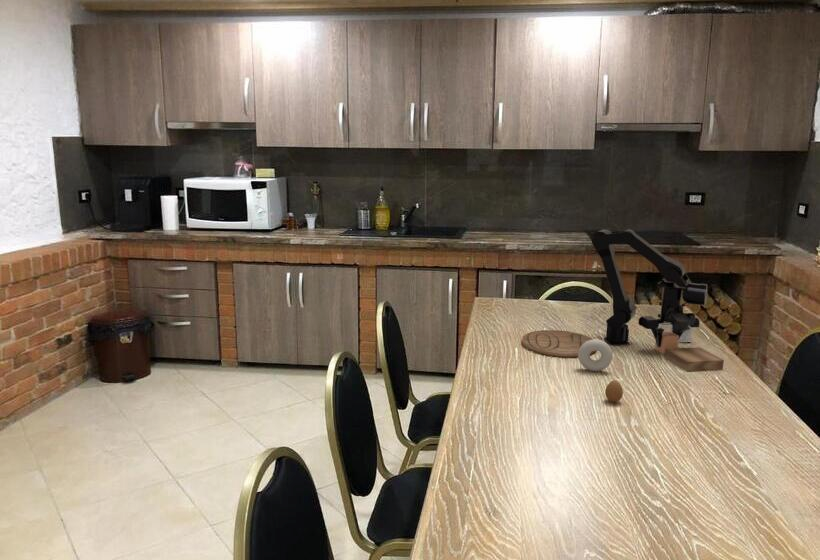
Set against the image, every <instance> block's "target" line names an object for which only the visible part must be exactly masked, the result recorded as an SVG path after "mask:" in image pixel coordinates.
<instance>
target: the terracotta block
mask: <svg viewBox="0 0 820 560" xmlns="http://www.w3.org/2000/svg"><path fill="white" fill-rule="evenodd" d="M678 341H679V336H678V335H677V334H675V333H673V332H671V331H670V330H667V331H665V330H664V331H663V332H662V339H661V346H660V347H658V346H657V343H656V341H655V343H654V344H655V345H654V350H656V351H657V352H659V353H661V354H662V355H665V351H666V349H674V348H679V342H678Z"/></svg>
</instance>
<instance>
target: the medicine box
mask: <svg viewBox="0 0 820 560" xmlns="http://www.w3.org/2000/svg"><path fill="white" fill-rule="evenodd" d="M689 328H690V329H689V330H686V331H685V332H683V334H682V335H681V337H680V339H679V341H678V343H682V342H686V343H687V342H690V343H691V342H692V333H693V332H692V331H693V327H690V326H689ZM669 331H671V332H672V324H670V329H669ZM686 343H685V344H686Z"/></svg>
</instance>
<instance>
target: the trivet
mask: <svg viewBox="0 0 820 560" xmlns="http://www.w3.org/2000/svg"><path fill="white" fill-rule="evenodd" d="M593 339H594V338H592V337H591V336H588V335H585V334H581V333H578V332H574V331H568V330H567V331H566V330H560V329H559V330H557V329H556V330H555V329H545V330H535V331H530V332H527V333H525V334H524V335H523V336H522V339H521V345H522V346H523V348H524V347H525V349H526V348H527V349H528V351H529V350H531V351H533V352H532V353H534V352H535V353H534V354H537V353H538V354H537V355H540V354H541V355H540V356H544V355H545V356H544V357H549V356H552V357H551V358H556V357H558V359H559V358H560V359H579V358H578V352H579V349H580V347H581V346H582V344H584V343H585V342H586V341H589V340H593ZM527 349H526V350H527ZM531 351H530V352H531ZM597 352H598V351H596V350H595V351H592V352H591V353H590V357H591V356H593V355H595V354H596V353H597Z"/></svg>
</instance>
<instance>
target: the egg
mask: <svg viewBox="0 0 820 560" xmlns="http://www.w3.org/2000/svg"><path fill="white" fill-rule="evenodd" d="M604 393H605V394H604V395H605V398H606V399H607V401H609V402H610V403H618V402H619V401H621V399H622V398H623V395H624V394H623V393H624V390H623V387H622V384H621V383H620V381H618V380H611V381H609V383H608V384H607V386H606V387H605V391H604Z"/></svg>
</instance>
